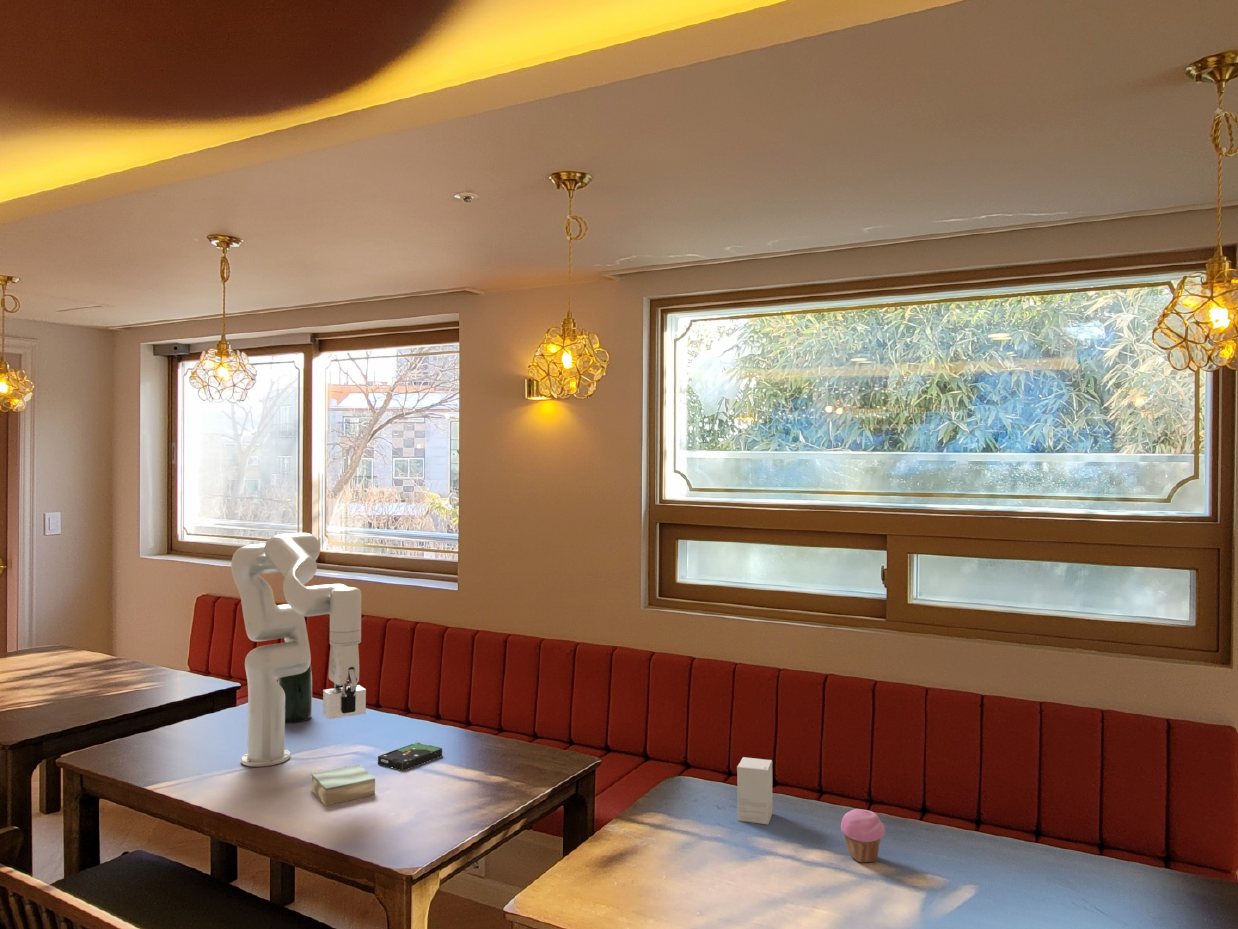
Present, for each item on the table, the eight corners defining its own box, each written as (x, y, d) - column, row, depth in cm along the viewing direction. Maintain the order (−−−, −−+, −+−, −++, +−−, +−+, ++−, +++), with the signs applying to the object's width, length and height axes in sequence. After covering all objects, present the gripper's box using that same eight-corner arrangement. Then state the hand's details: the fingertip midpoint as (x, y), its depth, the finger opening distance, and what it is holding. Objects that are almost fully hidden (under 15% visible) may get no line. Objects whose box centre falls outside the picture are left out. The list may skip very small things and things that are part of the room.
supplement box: (773, 813, 195) (773, 759, 195) (768, 825, 188) (768, 770, 188) (742, 809, 197) (742, 756, 198) (736, 821, 190) (736, 766, 191)
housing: (359, 708, 211) (359, 685, 211) (365, 713, 206) (365, 689, 206) (322, 714, 206) (323, 690, 206) (328, 719, 201) (329, 694, 201)
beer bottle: (318, 715, 272) (319, 615, 272) (299, 724, 262) (300, 620, 262) (290, 713, 274) (292, 614, 275) (270, 722, 264) (271, 619, 265)
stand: (311, 790, 207) (311, 774, 207) (358, 780, 214) (359, 764, 214) (325, 805, 197) (326, 788, 197) (374, 794, 204) (375, 778, 204)
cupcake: (892, 865, 169) (893, 816, 169) (855, 871, 166) (855, 821, 166) (868, 847, 177) (868, 800, 177) (832, 852, 175) (832, 804, 175)
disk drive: (403, 773, 221) (443, 757, 233) (403, 763, 221) (443, 747, 233) (377, 766, 226) (417, 750, 239) (377, 756, 226) (417, 741, 239)
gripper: (320, 633, 211) (319, 704, 211) (341, 644, 197) (340, 720, 197) (349, 630, 216) (348, 700, 215) (371, 640, 202) (371, 715, 201)
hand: (344, 708), depth 206 cm, fingers closed on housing, 5 cm apart
